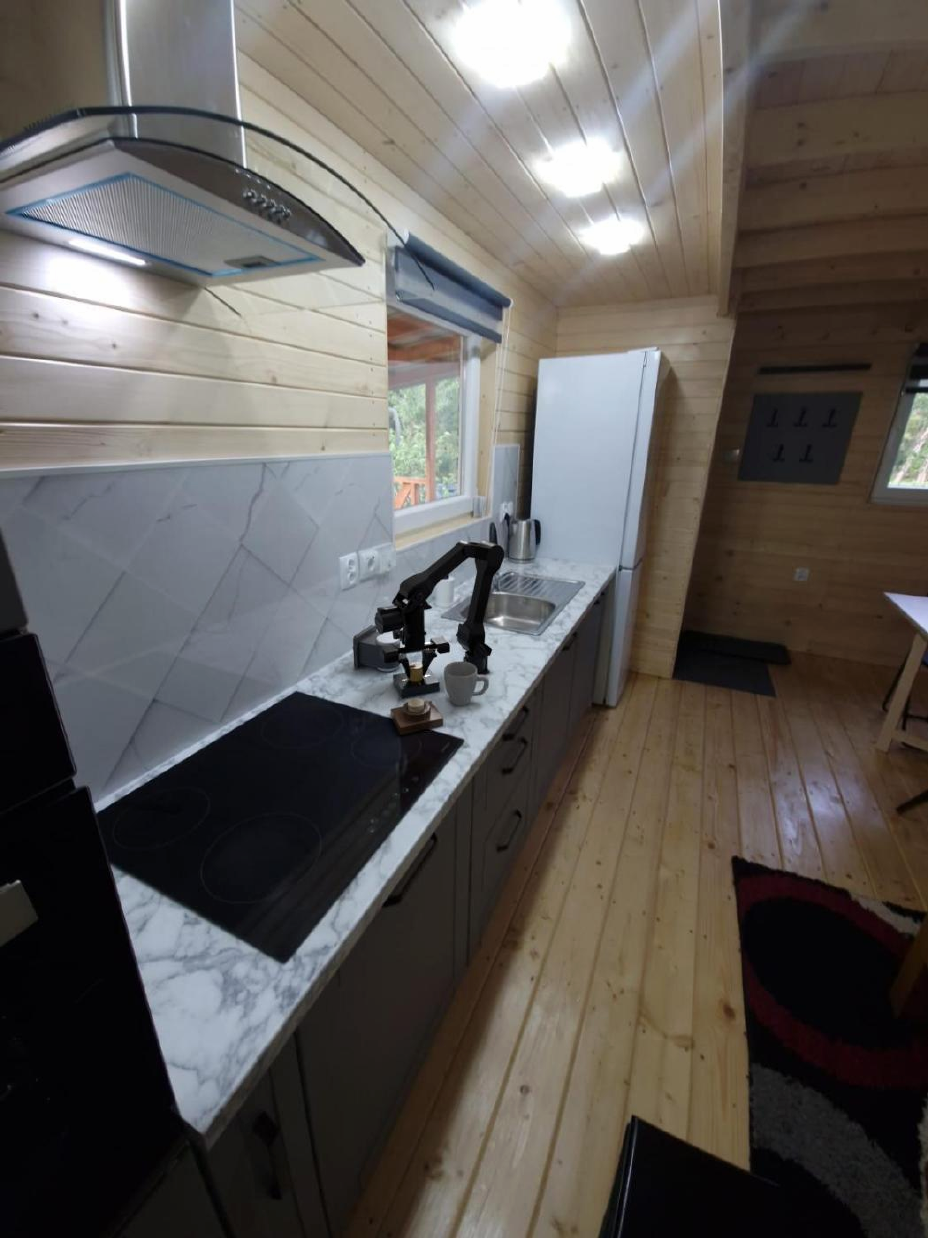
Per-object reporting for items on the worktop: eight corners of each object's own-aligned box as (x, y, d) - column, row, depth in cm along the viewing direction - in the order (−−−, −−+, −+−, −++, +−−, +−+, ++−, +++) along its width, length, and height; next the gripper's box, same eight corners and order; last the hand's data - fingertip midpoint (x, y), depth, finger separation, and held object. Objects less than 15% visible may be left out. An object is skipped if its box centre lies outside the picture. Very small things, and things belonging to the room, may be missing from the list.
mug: (441, 707, 131) (441, 675, 127) (447, 690, 139) (446, 660, 136) (486, 711, 130) (487, 678, 126) (489, 694, 138) (490, 663, 134)
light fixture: (388, 679, 146) (388, 646, 142) (351, 668, 151) (350, 636, 147) (407, 663, 156) (407, 632, 151) (371, 653, 160) (370, 623, 156)
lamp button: (421, 703, 126) (421, 697, 126) (426, 711, 123) (426, 705, 122) (406, 706, 125) (406, 700, 124) (410, 714, 122) (410, 708, 121)
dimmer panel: (429, 676, 147) (429, 667, 145) (439, 691, 139) (439, 681, 138) (393, 683, 143) (392, 674, 141) (401, 699, 135) (401, 688, 134)
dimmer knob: (420, 673, 142) (420, 660, 140) (424, 680, 139) (424, 666, 137) (407, 676, 141) (406, 662, 139) (411, 682, 137) (410, 668, 136)
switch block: (431, 707, 131) (431, 694, 130) (443, 725, 124) (443, 711, 122) (390, 716, 127) (390, 702, 126) (400, 735, 120) (399, 721, 118)
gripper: (436, 611, 144) (437, 659, 150) (373, 620, 137) (376, 670, 143) (450, 624, 134) (450, 675, 140) (383, 635, 128) (386, 688, 133)
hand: (415, 676), depth 139 cm, fingers closed on dimmer knob, 4 cm apart
